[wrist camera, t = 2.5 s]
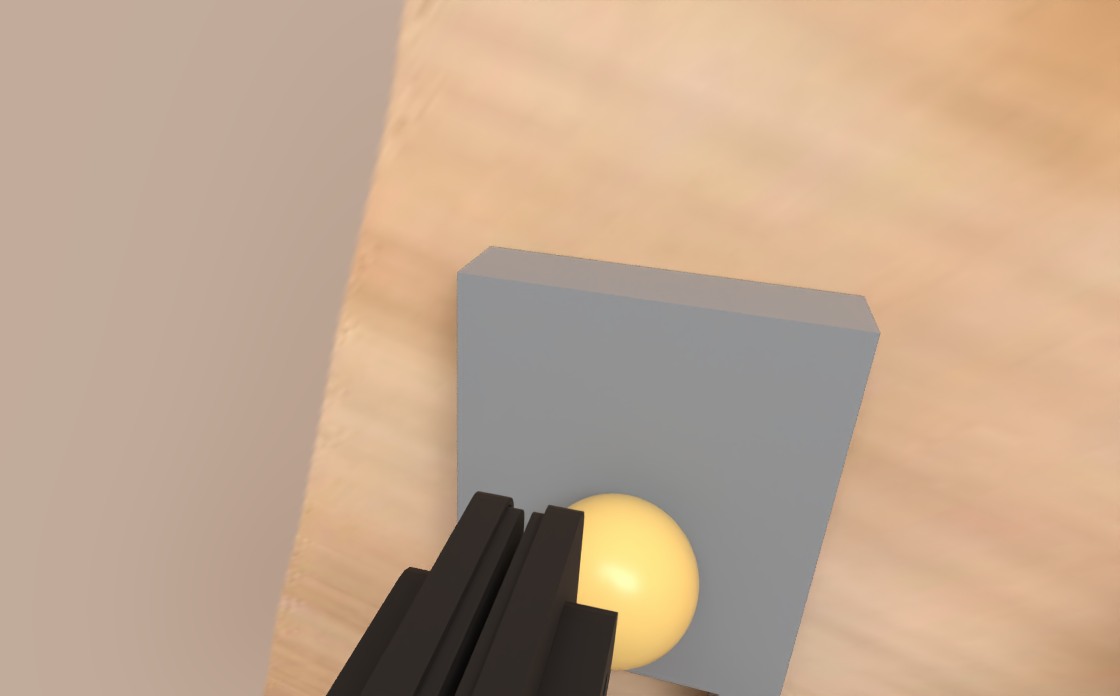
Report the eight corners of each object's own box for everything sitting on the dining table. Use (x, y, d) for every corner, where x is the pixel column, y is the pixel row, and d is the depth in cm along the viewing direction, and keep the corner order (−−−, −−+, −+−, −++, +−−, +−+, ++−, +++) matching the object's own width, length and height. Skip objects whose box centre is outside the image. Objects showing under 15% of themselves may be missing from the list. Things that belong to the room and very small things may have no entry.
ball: (715, 478, 21) (705, 592, 17) (692, 600, 24) (679, 730, 19) (559, 448, 22) (511, 549, 18) (550, 568, 25) (506, 685, 20)
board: (864, 296, 21) (906, 392, 15) (733, 798, 31) (729, 969, 25) (490, 246, 24) (405, 313, 18) (481, 727, 34) (424, 869, 28)
